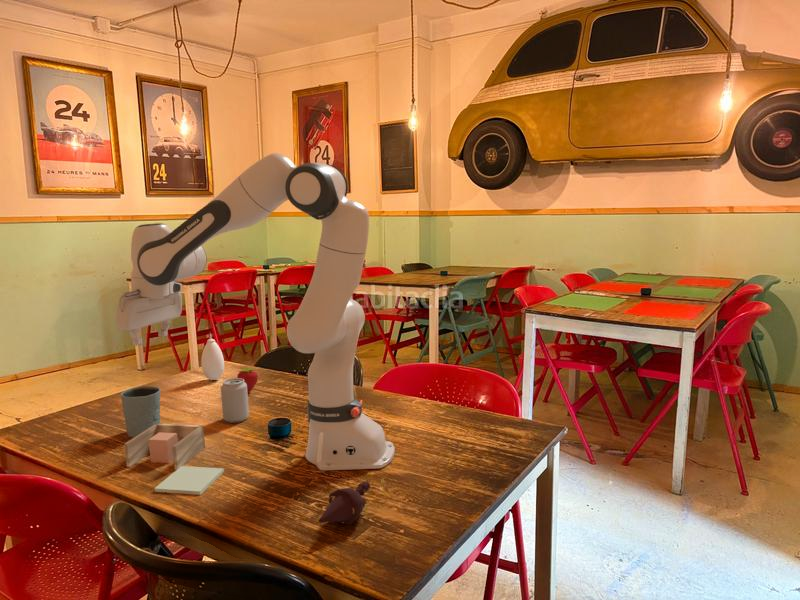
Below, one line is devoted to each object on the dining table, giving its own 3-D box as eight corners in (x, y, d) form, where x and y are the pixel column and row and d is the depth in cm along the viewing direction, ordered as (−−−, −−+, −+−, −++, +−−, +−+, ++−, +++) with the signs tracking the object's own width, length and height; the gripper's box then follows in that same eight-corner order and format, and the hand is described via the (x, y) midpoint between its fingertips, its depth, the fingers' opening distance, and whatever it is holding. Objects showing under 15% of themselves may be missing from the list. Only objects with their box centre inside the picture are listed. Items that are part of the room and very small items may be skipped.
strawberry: (250, 396, 187) (248, 367, 185) (234, 393, 190) (232, 365, 189) (263, 391, 192) (261, 363, 191) (246, 388, 196) (244, 360, 194)
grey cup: (121, 431, 159) (116, 391, 158) (157, 422, 166) (153, 383, 164) (130, 442, 152) (126, 399, 150) (169, 432, 158) (165, 391, 156)
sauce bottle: (220, 375, 212) (216, 329, 209) (228, 380, 206) (225, 332, 203) (199, 380, 207) (195, 332, 204) (207, 384, 201) (203, 336, 198)
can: (252, 414, 170) (250, 376, 168) (243, 424, 163) (240, 384, 161) (229, 414, 171) (226, 376, 169) (219, 423, 164) (215, 384, 162)
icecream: (338, 515, 101) (384, 486, 114) (308, 495, 105) (356, 469, 118) (330, 547, 103) (377, 516, 115) (301, 526, 106) (349, 498, 119)
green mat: (224, 471, 133) (223, 468, 133) (200, 494, 122) (200, 491, 122) (181, 469, 135) (181, 466, 135) (154, 491, 124) (154, 488, 124)
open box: (205, 447, 147) (203, 425, 146) (177, 469, 135) (175, 446, 134) (157, 444, 149) (155, 423, 149) (126, 466, 137) (124, 443, 136)
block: (179, 455, 143) (177, 433, 142) (169, 463, 138) (166, 440, 137) (161, 454, 144) (159, 432, 143) (150, 462, 139) (148, 439, 138)
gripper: (131, 294, 130) (131, 352, 132) (186, 284, 149) (185, 334, 152) (108, 291, 132) (109, 348, 134) (166, 281, 151) (166, 330, 153)
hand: (150, 340), depth 143 cm, fingers open, 8 cm apart
